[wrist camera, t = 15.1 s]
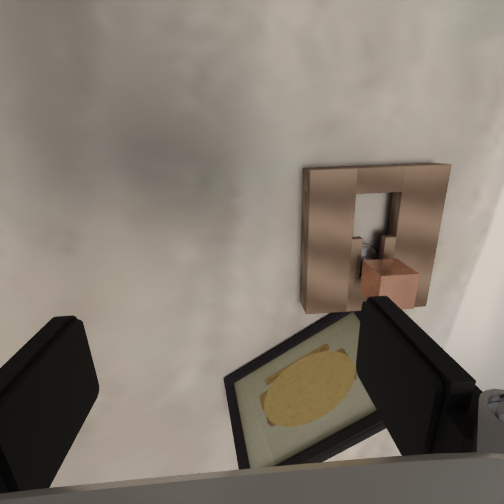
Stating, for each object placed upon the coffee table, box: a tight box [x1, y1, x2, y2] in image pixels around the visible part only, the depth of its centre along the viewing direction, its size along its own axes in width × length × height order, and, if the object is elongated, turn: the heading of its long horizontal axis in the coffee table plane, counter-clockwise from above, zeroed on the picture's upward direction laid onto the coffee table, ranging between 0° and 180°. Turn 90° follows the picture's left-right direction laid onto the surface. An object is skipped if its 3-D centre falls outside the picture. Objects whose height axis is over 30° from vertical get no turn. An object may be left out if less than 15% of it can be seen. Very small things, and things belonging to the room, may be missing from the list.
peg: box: [359, 243, 420, 309], centre depth 36 cm, size 4×4×10 cm
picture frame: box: [224, 311, 386, 470], centre depth 39 cm, size 23×9×15 cm, turn 124°
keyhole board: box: [300, 163, 451, 314], centre depth 38 cm, size 18×16×4 cm
